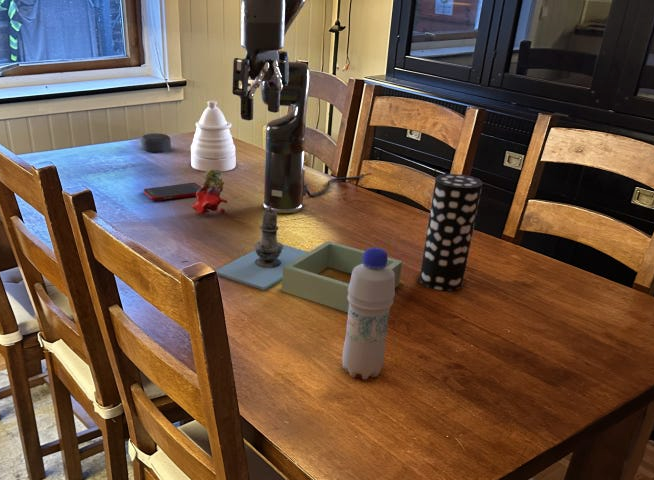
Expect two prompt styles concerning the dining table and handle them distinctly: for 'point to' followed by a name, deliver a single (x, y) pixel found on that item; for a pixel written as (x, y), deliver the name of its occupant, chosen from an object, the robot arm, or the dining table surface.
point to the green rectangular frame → (321, 289)
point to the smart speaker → (156, 142)
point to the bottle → (368, 314)
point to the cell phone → (172, 191)
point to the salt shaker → (268, 241)
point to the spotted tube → (450, 231)
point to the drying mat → (258, 269)
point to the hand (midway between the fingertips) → (260, 115)
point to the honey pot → (213, 142)
